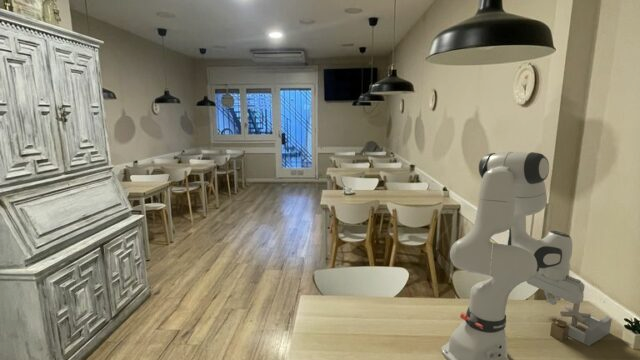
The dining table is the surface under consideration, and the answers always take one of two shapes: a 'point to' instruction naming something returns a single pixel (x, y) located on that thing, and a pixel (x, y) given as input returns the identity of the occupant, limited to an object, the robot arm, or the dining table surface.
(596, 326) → the socket cradle
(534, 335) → the dining table surface
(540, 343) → the dining table surface
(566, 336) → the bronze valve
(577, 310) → the beige crossed rod piece
